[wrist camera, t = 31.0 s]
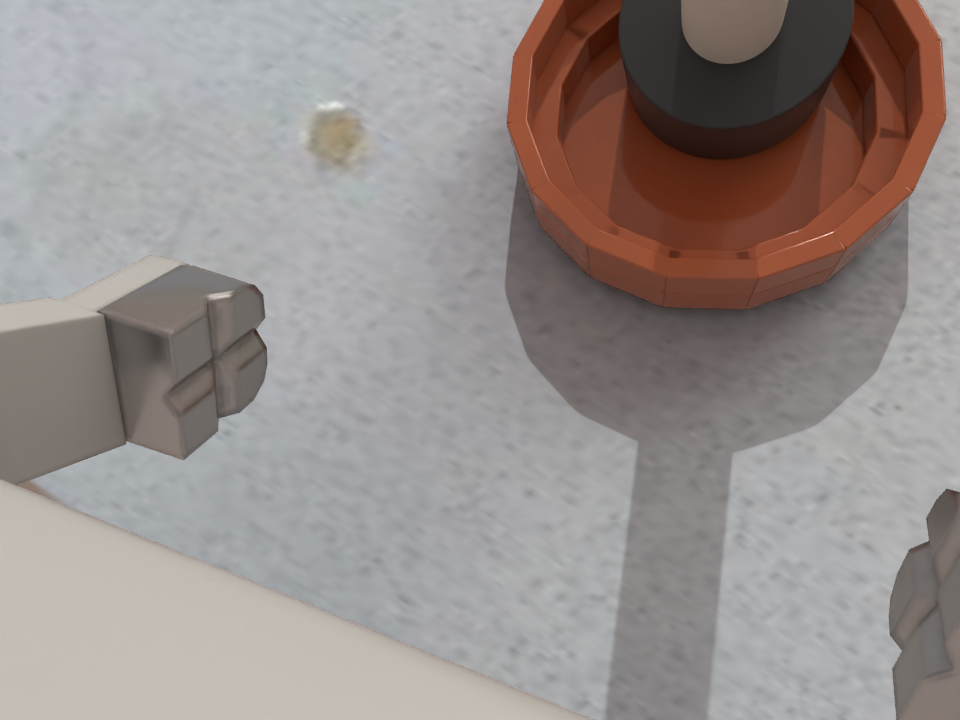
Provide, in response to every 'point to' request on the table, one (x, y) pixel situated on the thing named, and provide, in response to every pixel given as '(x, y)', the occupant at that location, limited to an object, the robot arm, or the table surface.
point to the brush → (730, 68)
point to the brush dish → (720, 163)
